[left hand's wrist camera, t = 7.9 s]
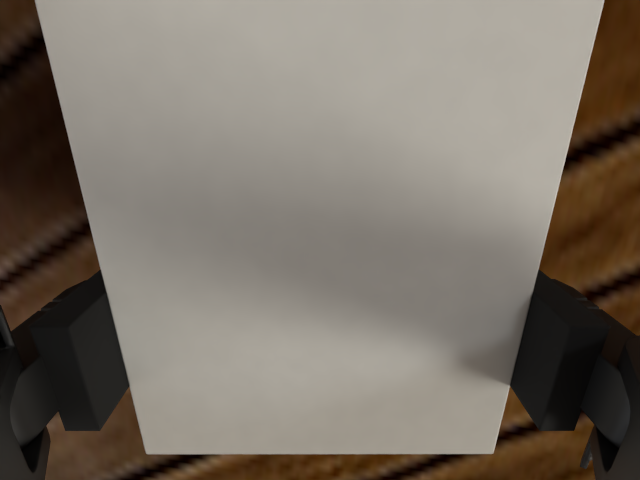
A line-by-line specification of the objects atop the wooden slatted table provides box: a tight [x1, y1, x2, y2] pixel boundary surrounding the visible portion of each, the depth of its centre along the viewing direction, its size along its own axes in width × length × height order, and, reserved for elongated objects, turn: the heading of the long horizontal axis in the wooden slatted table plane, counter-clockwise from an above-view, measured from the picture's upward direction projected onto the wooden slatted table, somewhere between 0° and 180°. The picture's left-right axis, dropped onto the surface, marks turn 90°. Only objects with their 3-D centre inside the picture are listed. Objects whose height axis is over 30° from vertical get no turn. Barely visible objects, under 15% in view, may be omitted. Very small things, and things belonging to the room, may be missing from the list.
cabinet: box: [35, 0, 604, 454], centre depth 12 cm, size 18×10×11 cm, turn 0°
